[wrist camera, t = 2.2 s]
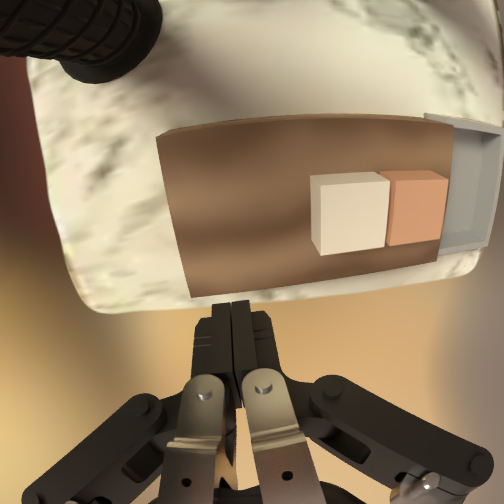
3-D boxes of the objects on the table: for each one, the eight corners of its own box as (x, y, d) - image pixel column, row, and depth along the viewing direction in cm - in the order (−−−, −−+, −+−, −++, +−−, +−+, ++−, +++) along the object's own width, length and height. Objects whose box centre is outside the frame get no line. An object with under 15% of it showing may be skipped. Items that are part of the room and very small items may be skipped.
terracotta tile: (379, 171, 20) (396, 180, 18) (430, 170, 20) (448, 179, 18) (375, 231, 22) (389, 246, 20) (423, 225, 23) (439, 238, 20)
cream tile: (310, 175, 20) (320, 185, 18) (373, 171, 20) (390, 181, 18) (311, 239, 22) (320, 255, 20) (370, 232, 22) (384, 246, 20)
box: (424, 113, 22) (446, 117, 19) (484, 122, 23) (505, 128, 19) (413, 241, 29) (430, 257, 26) (470, 233, 29) (487, 246, 26)
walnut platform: (169, 130, 22) (155, 137, 18) (421, 117, 23) (453, 125, 18) (195, 266, 28) (191, 297, 24) (411, 237, 29) (436, 261, 25)
